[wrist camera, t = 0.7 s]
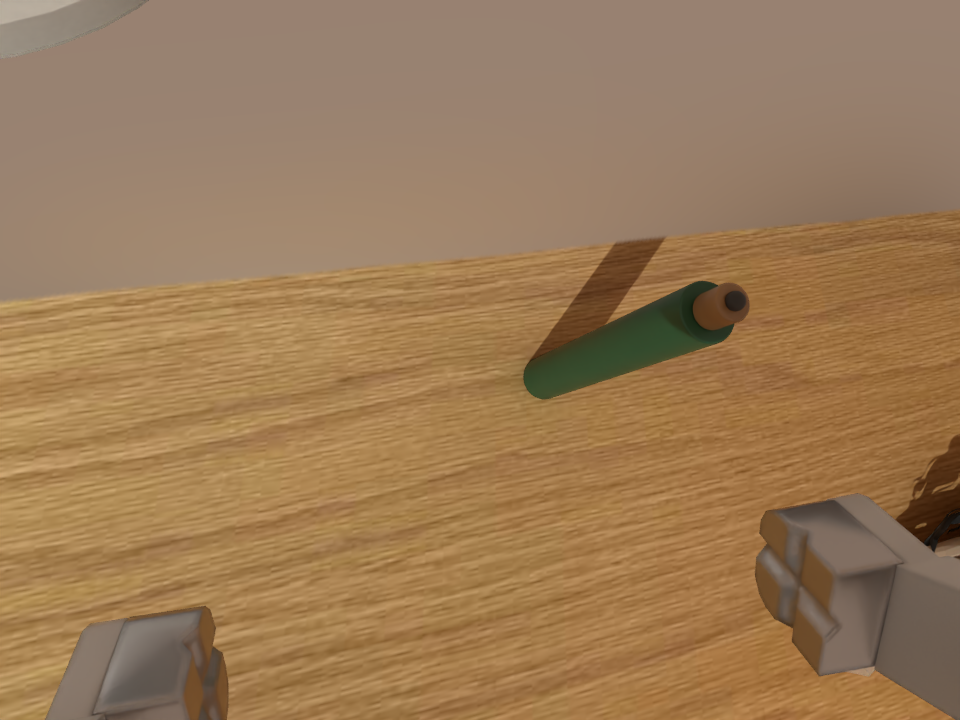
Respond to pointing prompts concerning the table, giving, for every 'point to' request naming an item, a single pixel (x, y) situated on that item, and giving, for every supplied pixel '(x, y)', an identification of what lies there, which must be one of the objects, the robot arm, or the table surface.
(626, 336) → the pencil
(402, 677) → the table surface
